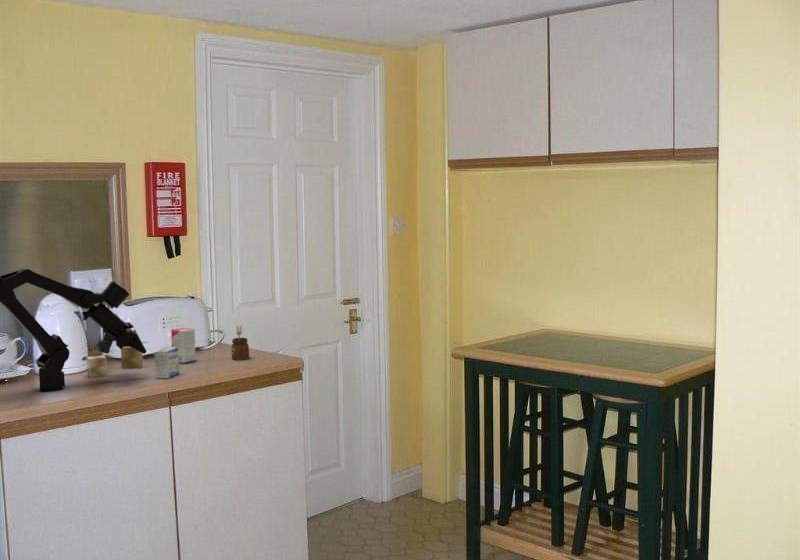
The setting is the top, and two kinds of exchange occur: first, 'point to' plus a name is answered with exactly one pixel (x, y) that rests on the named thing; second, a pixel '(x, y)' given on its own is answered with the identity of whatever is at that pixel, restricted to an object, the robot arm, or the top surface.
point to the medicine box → (166, 362)
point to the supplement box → (184, 344)
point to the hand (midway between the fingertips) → (145, 352)
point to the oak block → (131, 358)
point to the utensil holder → (240, 347)
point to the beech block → (97, 366)
